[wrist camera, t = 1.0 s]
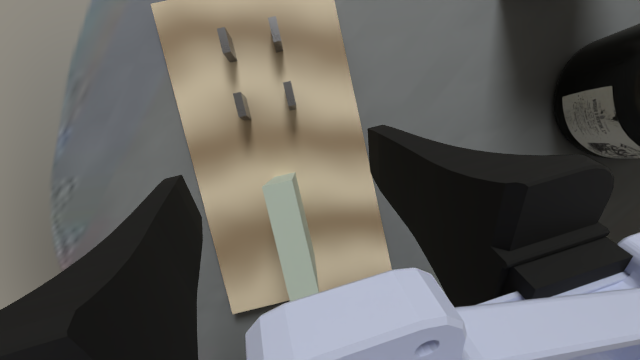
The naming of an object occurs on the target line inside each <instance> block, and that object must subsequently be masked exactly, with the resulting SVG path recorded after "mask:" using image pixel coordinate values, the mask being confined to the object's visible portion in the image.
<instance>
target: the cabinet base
mask: <svg viewBox="0 0 640 360" xmlns="http://www.w3.org/2000/svg"><path fill="white" fill-rule="evenodd" d="M151 7H152V11H153V15H154V18H155V22H156V26H157V30H158V34H159V37H160V41H161V45H162V49H163V52H164V56H165V60H166V64H167V68H168V71H169V75H170V79H171V83H172V86H173V90H174V94H175V98H176V102H177V105H178V109H179V113H180V117H181V121H182V124H183V128H184V132H185V136H186V139H187V143H188V147H189V151H190V155H191V158H192V162H193V166H194V170H195V174H196V177H197V181H198V185H199V189H200V192H201V196H202V200H203V204H204V208H205V211H206V215H207V219H208V223H209V226H210V230H211V234H212V238H213V242H214V245H215V249H216V253H217V257H218V261H219V264H220V268H221V272H222V276H223V279H224V283H225V287H226V291H227V295H228V298H229V302H230V306H231V310H232V314H236V313H240V312H244V311H248V310H252V309H256V308H260V307H264V306H268V305H272V304H277V303H281V302H285V301H289V300H290V299H289V295H288V291H287V287H286V283H285V279H284V275H283V271H282V267H281V263H280V259H279V255H278V251H277V247H276V242H275V238H274V234H273V230H272V226H271V222H270V218H269V214H268V210H267V206H266V202H265V198H264V194H263V190H262V186H264V185H265V184H266V183H267V182H269V181H270V180H271V179H272V178H274V177H276V176H281V175H285V174H289V173H294V172H295V173H296V177H297V182H298V186H299V190H300V194H301V199H302V203H303V207H304V211H305V215H306V220H307V224H308V228H309V232H310V237H311V241H312V245H313V249H314V254H315V263H316V271H317V280H318V288H319V292H322V291H325V290H329V289H332V288H335V287H338V286H341V285H345V284H348V283H351V282H354V281H357V280H361V279H364V278H367V277H370V276H373V275H377V274H380V273H383V272H386V271H389V270H392V269H391V264H390V259H389V254H388V250H387V245H386V240H385V236H384V231H383V226H382V222H381V217H380V212H379V208H378V203H377V198H376V194H375V189H374V184H373V180H372V175H371V172H370V166H369V161H368V156H367V152H366V147H365V142H364V138H363V133H362V128H361V123H360V119H359V114H358V109H357V105H356V100H355V95H354V91H353V86H352V81H351V77H350V72H349V67H348V63H347V58H346V53H345V49H344V44H343V39H342V35H341V30H340V25H339V21H338V16H337V11H336V7H335V2H334V0H167V1H162V2H157V3H153V4H151ZM274 16H276V19H277V24H278V28H279V32H280V37H281V41H282V47H283V51H281V52H277V53H276V50H275V46H274V42H273V38H272V34H271V29H270V25H269V21H268V18H269V17H274ZM222 27H225V28H226V30H227V32H228V33H229V35H230V36H231V38H232V41H233V45H234V49H235V53H236V58H237V61H235V62H231V63H230V62H229V61H228V59H227V58H226V57H225V55H224V54H223V52H222V48H221V44H220V40H219V36H218V32H217V28H222ZM288 81H291V84H292V89H293V93H294V97H295V102H296V107H297V109H295V110H289V107H288V102H287V98H286V94H285V89H284V85H283V82H288ZM238 92H241V93H242V94H243V95H244V96H245V97H246V98H247V103H248V107H249V111H250V115H251V119H250V120H245V121H244V120H242V119H241V118H239V117H238V113H237V109H236V105H235V101H234V96H233V93H238Z"/></svg>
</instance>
